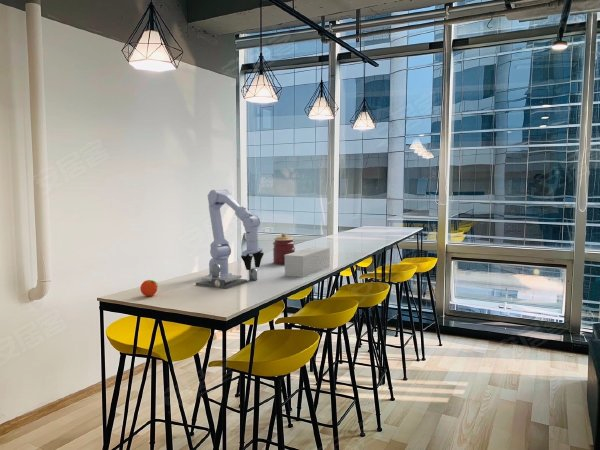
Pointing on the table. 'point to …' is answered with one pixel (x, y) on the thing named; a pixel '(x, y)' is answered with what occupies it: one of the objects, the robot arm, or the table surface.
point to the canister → (282, 248)
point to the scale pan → (222, 277)
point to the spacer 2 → (253, 274)
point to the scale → (221, 283)
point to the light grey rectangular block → (306, 261)
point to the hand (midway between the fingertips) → (252, 268)
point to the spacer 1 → (216, 270)
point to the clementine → (148, 287)
